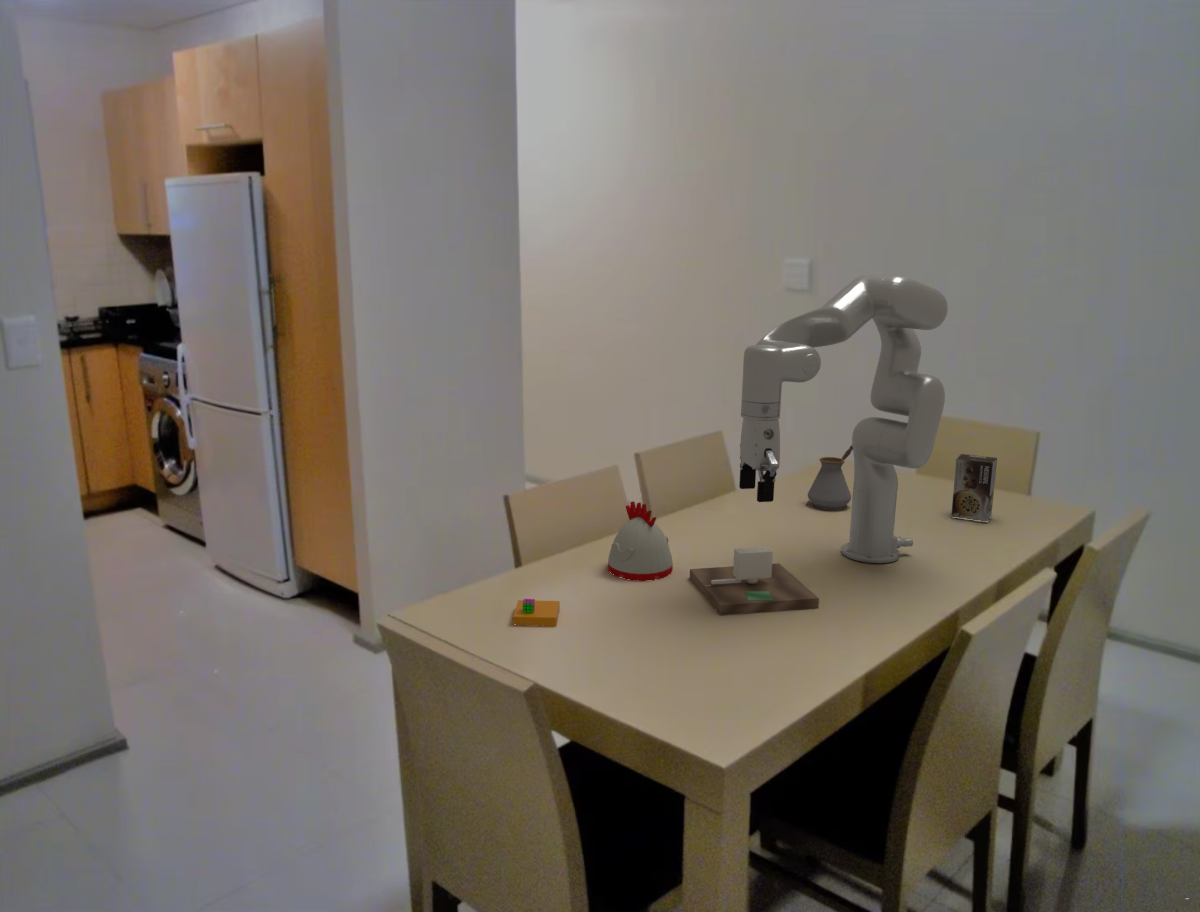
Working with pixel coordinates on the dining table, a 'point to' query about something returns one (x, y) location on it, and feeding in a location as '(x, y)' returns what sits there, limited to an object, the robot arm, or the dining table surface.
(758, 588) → the dial board
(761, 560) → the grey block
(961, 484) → the coffee box
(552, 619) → the orange block with cube
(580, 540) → the dining table surface
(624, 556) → the chicken figurine
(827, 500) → the coffee pot
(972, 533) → the dining table surface
